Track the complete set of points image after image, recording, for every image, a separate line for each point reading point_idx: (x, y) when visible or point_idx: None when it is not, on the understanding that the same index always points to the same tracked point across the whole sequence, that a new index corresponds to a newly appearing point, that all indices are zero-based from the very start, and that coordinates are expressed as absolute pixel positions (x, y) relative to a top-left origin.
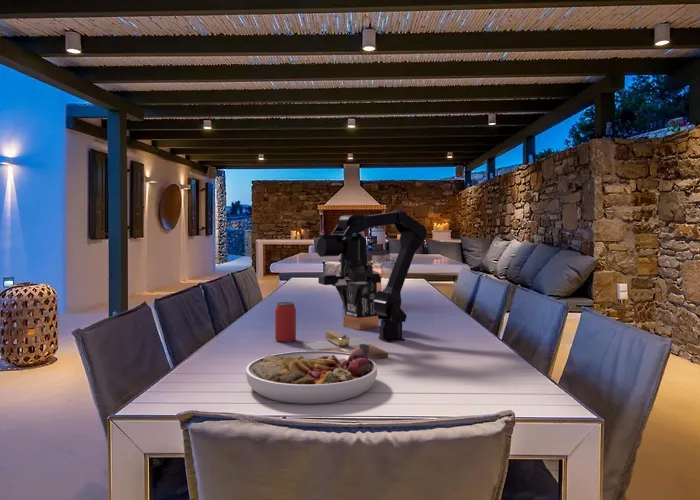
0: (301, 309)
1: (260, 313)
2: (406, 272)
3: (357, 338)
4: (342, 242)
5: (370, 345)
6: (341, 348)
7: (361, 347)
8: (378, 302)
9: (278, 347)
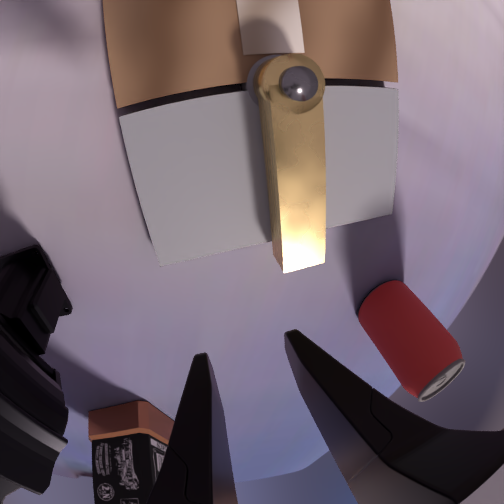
0: (241, 478)
1: (312, 455)
2: None
3: (162, 252)
4: None
5: (128, 90)
6: None
7: None
8: (27, 417)
9: (428, 223)
